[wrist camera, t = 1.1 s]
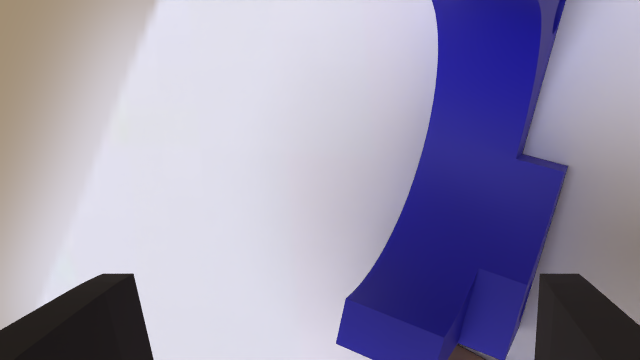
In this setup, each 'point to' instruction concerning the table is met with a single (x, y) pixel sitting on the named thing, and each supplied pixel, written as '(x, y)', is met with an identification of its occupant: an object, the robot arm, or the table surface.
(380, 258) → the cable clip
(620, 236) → the table surface
